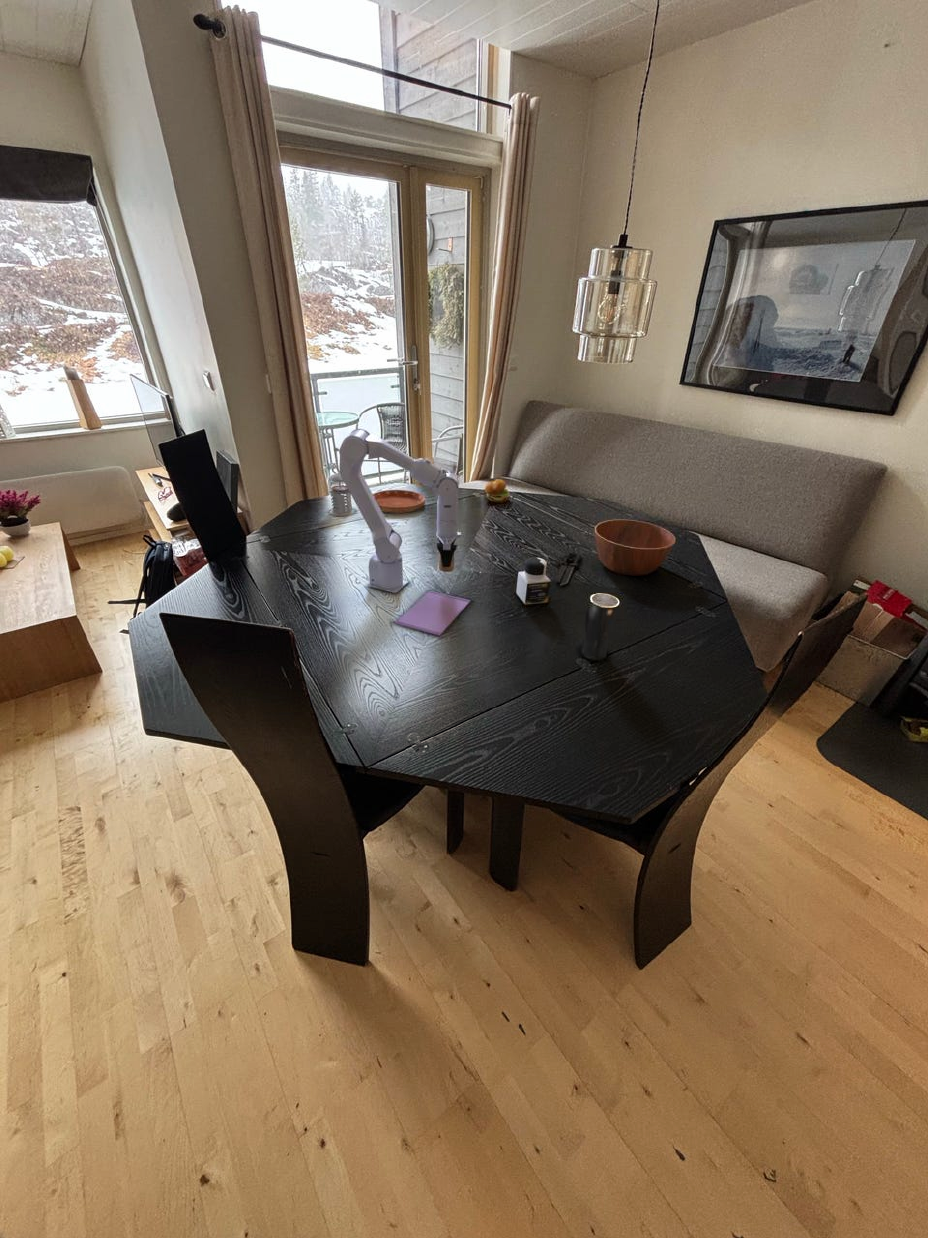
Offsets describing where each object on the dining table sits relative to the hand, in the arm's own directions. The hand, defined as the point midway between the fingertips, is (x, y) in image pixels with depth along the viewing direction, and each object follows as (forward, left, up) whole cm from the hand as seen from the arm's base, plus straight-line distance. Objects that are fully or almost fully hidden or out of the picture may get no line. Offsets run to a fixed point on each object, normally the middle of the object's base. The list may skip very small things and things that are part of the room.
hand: (446, 563), depth 144 cm
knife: (+30, +29, -8) cm, 42 cm away
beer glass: (+47, -14, -8) cm, 50 cm away
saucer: (-49, +56, -8) cm, 75 cm away
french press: (-64, +39, -8) cm, 75 cm away
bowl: (+47, +42, -8) cm, 63 cm away
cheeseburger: (-15, +83, -4) cm, 85 cm away
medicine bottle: (+25, +6, -8) cm, 27 cm away
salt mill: (0, 0, -2) cm, 2 cm away
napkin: (+3, -14, -8) cm, 17 cm away
